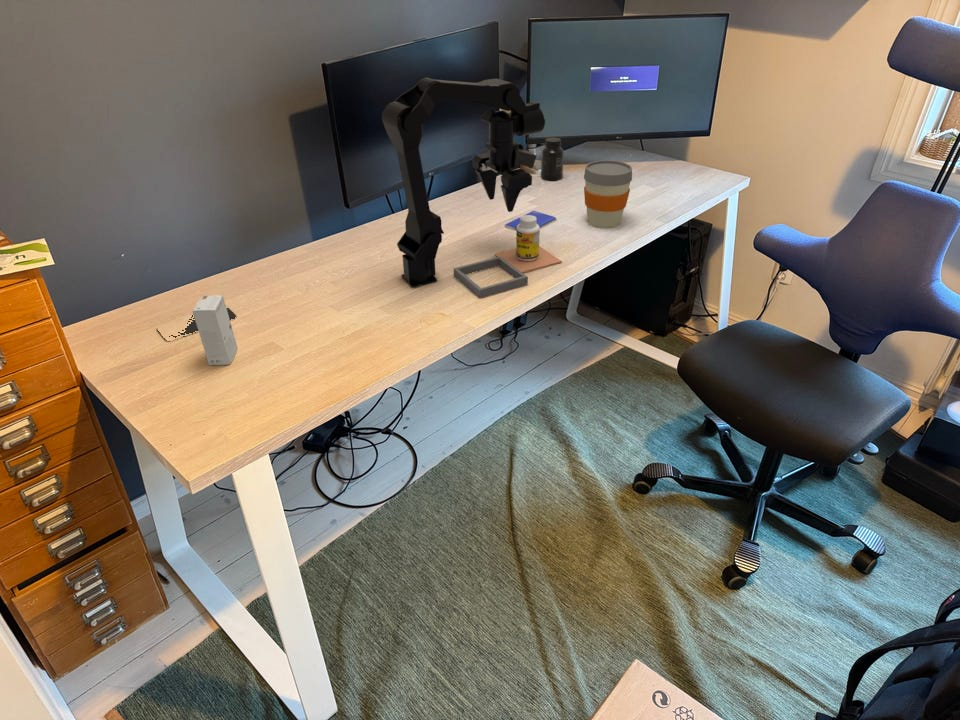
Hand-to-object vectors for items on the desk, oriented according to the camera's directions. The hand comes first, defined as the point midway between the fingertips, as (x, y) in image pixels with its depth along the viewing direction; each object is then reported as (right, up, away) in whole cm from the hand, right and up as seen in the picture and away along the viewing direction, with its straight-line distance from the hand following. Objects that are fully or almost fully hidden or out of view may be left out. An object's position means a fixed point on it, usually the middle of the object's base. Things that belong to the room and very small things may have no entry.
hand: (500, 205), depth 162 cm
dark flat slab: (-65, -30, -19) cm, 74 cm away
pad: (+7, -12, +4) cm, 15 cm away
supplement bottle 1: (+7, -12, +4) cm, 14 cm away
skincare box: (-55, -37, -30) cm, 73 cm away
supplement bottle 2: (+18, +21, +53) cm, 60 cm away
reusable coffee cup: (+29, +1, +23) cm, 37 cm away
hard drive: (+9, -1, +23) cm, 25 cm away
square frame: (-3, -19, -5) cm, 19 cm away
